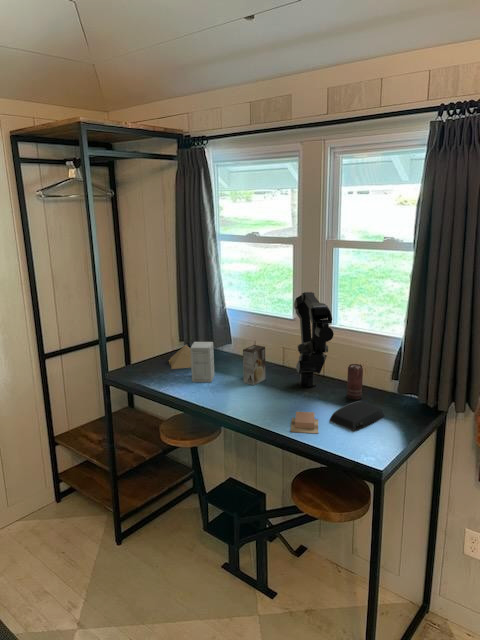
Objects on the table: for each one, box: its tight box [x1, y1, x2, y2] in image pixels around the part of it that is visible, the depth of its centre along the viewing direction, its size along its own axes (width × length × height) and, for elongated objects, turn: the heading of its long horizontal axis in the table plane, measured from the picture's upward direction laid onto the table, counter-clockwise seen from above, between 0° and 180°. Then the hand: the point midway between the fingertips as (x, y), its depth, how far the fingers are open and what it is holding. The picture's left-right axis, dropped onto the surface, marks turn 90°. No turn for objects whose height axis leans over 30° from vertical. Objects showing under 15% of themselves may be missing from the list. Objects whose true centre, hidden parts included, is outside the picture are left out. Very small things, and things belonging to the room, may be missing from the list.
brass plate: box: [290, 417, 319, 434], centre depth 184 cm, size 11×10×1 cm
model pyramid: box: [168, 344, 191, 370], centre depth 252 cm, size 17×17×10 cm
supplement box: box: [189, 341, 215, 383], centre depth 229 cm, size 10×9×17 cm
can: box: [346, 363, 364, 401], centre depth 206 cm, size 6×6×14 cm
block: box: [295, 411, 316, 429], centre depth 185 cm, size 2×7×9 cm
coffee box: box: [242, 344, 266, 386], centre depth 225 cm, size 9×6×16 cm
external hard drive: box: [328, 400, 385, 433], centre depth 189 cm, size 13×19×4 cm
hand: (318, 373), depth 201 cm, fingers closed
